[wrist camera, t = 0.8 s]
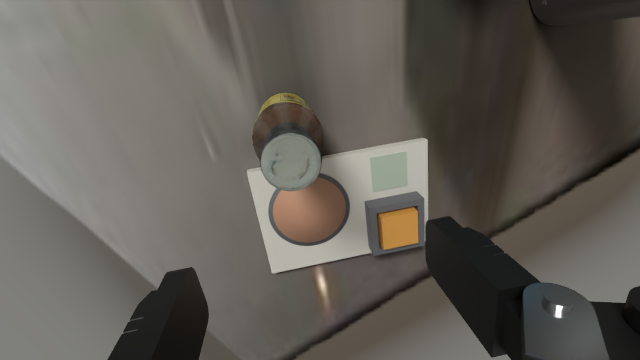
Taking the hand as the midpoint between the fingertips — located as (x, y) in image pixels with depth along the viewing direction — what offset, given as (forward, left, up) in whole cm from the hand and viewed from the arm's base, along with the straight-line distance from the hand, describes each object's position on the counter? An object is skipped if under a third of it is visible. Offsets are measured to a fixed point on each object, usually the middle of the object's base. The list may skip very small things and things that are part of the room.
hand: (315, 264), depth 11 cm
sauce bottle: (0, 0, -30) cm, 30 cm away
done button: (-12, +17, -27) cm, 35 cm away
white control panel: (-6, +14, -30) cm, 33 cm away
